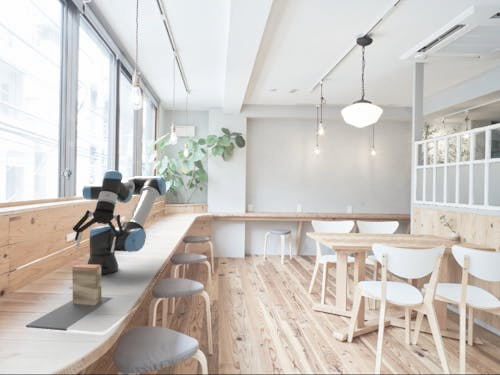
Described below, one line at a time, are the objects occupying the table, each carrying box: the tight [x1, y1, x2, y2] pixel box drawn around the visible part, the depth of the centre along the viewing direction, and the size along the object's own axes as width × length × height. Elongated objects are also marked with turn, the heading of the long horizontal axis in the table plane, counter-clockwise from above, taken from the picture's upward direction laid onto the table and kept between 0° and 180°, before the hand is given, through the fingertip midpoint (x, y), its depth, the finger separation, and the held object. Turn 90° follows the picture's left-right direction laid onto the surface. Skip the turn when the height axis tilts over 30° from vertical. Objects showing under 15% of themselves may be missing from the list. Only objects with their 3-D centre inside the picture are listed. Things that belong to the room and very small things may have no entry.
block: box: [71, 263, 102, 305], centre depth 119 cm, size 4×9×14 cm, turn 82°
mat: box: [25, 296, 113, 332], centre depth 112 cm, size 26×14×1 cm, turn 172°
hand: (94, 250), depth 131 cm, fingers open, 13 cm apart
